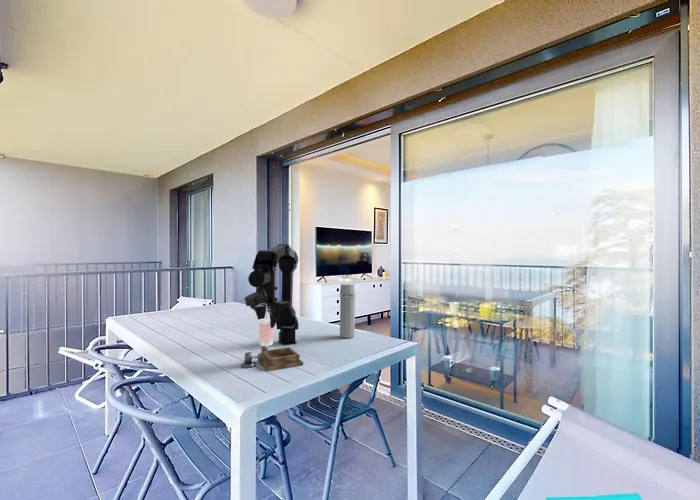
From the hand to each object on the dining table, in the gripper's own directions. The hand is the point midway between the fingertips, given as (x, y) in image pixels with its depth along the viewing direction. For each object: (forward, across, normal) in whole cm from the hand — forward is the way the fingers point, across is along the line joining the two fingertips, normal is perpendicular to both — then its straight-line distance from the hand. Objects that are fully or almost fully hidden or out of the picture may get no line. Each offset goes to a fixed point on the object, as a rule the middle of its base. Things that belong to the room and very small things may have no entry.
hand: (266, 326), depth 124 cm
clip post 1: (+13, -1, -7) cm, 15 cm away
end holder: (+13, +5, +2) cm, 14 cm away
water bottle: (+13, +1, +46) cm, 48 cm away
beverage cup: (+7, 0, 0) cm, 7 cm away
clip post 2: (+13, -6, +4) cm, 14 cm away
